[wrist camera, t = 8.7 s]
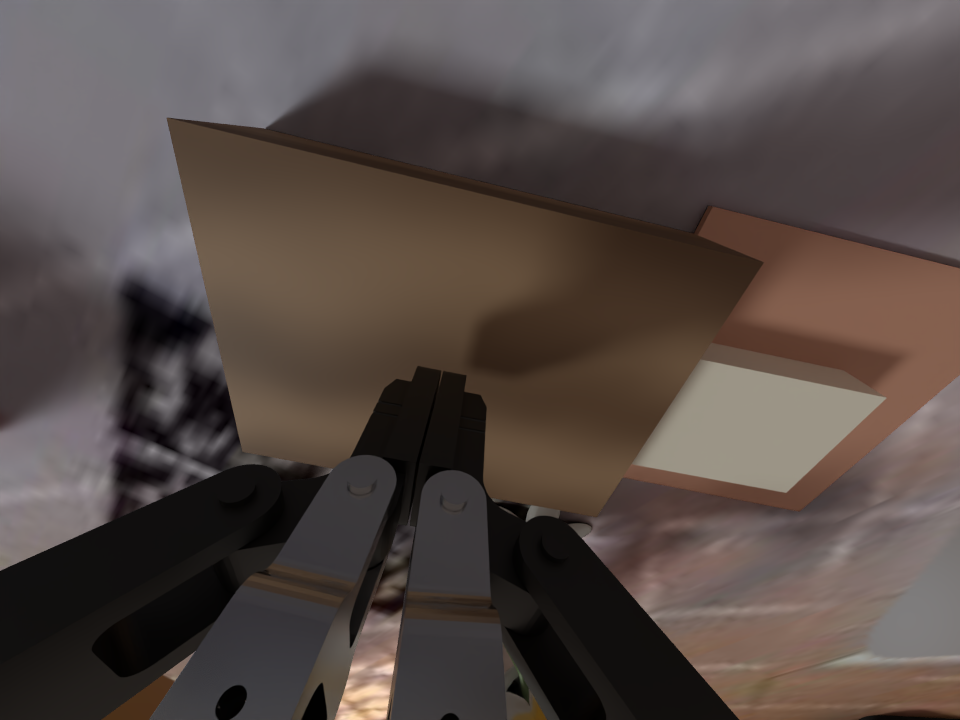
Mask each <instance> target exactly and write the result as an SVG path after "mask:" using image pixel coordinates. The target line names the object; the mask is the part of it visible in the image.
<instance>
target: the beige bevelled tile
mask: <svg viewBox="0 0 960 720" xmlns="http://www.w3.org/2000/svg"><path fill="white" fill-rule="evenodd" d="M885 399H886V397H885V396H883V395H882V394H880V393H879V392H877V391H875V390H874V389H872V388H871V387H869V386H867V385H866V384H864V383H863V382H861V381H859V380H858V379H856V378H855V377H853V376H852V375H850V374H848V373H847V372H845V371H844V370H840V369H835V368H830V367H825V366H820V365H816V364H811V363H806V362H801V361H797V360H792V359H787V358H782V357H777V356H773V355H768V354H763V353H758V352H753V351H749V350H744V349H739V348H734V347H730V346H725V345H720V344H715V343H711V344H710V345H709V347H708V348H707V350H706V351H705V353H704V355H703V356H702V358H701V359H700V361H699V362H698V364H697V365H696V367H695V368H694V370H693V371H692V373H691V374H690V376H689V377H688V379H687V380H686V382H685V383H684V385H683V386H682V388H681V389H680V391H679V393H678V394H677V396H676V397H675V399H674V400H673V402H672V403H671V405H670V406H669V408H668V409H667V411H666V412H665V414H664V415H663V417H662V418H661V420H660V421H659V423H658V424H657V426H656V427H655V429H654V431H653V432H652V434H651V435H650V437H649V438H648V440H647V441H646V443H645V444H644V446H643V447H642V449H641V450H640V452H639V453H638V455H637V456H636V458H635V459H634V461H633V462H632V464H633V465H639V466H644V467H649V468H655V469H660V470H666V471H671V472H676V473H682V474H687V475H692V476H698V477H703V478H709V479H714V480H719V481H725V482H730V483H736V484H741V485H746V486H752V487H757V488H763V489H768V490H773V491H779V492H784V493H787V492H788V491H789V490H790V489H791V488H792V487H793V486H794V485H795V484H796V483H797V482H798V481H799V480H800V479H801V478H802V477H803V476H805V475H806V474H807V473H808V472H809V471H810V470H811V469H812V468H813V467H814V466H815V465H816V464H817V463H818V462H819V461H820V460H822V459H823V458H824V457H825V456H826V455H827V454H828V453H829V452H830V451H831V450H832V449H833V448H834V447H835V446H836V445H837V444H838V443H840V442H841V441H842V440H843V439H844V438H845V437H846V436H847V435H848V434H849V433H850V432H851V431H852V430H853V429H854V428H855V427H856V426H858V425H859V424H860V423H861V422H862V421H863V420H864V419H865V418H866V417H867V416H868V415H869V414H870V413H871V412H872V411H873V410H874V409H876V408H877V407H878V406H879V405H880V404H881V403H882V402H883V401H884V400H885Z"/></svg>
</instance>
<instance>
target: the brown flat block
mask: <svg viewBox="0 0 960 720" xmlns="http://www.w3.org/2000/svg"><path fill="white" fill-rule="evenodd" d="M167 122H168V126H169V130H170V135H171V139H172V144H173V148H174V152H175V157H176V161H177V166H178V170H179V174H180V179H181V183H182V188H183V192H184V196H185V201H186V205H187V210H188V214H189V218H190V223H191V227H192V231H193V236H194V240H195V245H196V249H197V253H198V258H199V262H200V267H201V271H202V275H203V280H204V284H205V289H206V293H207V297H208V302H209V306H210V311H211V315H212V319H213V324H214V328H215V332H216V337H217V341H218V346H219V350H220V354H221V359H222V363H223V368H224V372H225V376H226V381H227V385H228V390H229V394H230V398H231V403H232V407H233V412H234V416H235V420H236V425H237V429H238V433H239V438H240V442H241V447H242V451H243V452H247V453H252V454H258V455H263V456H269V457H274V458H279V459H285V460H290V461H296V462H301V463H306V464H312V465H317V466H323V467H328V468H333V469H334V468H335V467H336V466H337V465H338V464H339V463H341V462H342V461H344V460H346V459H348V458H350V457H351V455H352V453H353V451H354V449H355V447H356V445H357V443H358V441H359V439H360V437H361V435H362V433H363V431H364V429H365V427H366V425H367V422H368V420H369V418H370V416H371V414H373V410H374V408H375V406H376V404H377V403H378V400H379V398H380V396H381V394H382V392H383V390H384V388H385V387H386V386H388V385H389V384H390V383H392V382H393V381H394V380H396V379H401V380H406V381H412V379H413V376H414V373H415V371H416V368H417V366H421V367H427V368H432V369H437V370H441V378H442V374H443V371H447V372H453V373H458V374H463V375H467V377H466V383H465V390H464V392H469V393H474V394H479V395H481V397H482V399H483V401H484V403H485V405H486V407H487V413H486V432H485V452H484V471H483V482H484V486H485V489H486V491H487V493H488V495H489V497H490V498H496V499H501V500H506V501H512V502H517V503H523V504H528V505H533V506H539V507H544V508H550V509H555V510H560V511H566V512H571V513H577V514H582V515H588V516H593V517H597V516H598V514H599V513H600V511H601V510H602V508H603V507H604V505H605V503H606V502H607V500H608V499H609V497H610V496H611V494H612V493H613V491H614V490H615V488H616V487H617V485H618V484H619V482H620V481H621V479H622V478H623V476H624V475H625V473H626V472H627V470H628V469H629V467H630V465H631V464H632V462H633V461H634V459H635V458H636V456H637V455H638V453H639V452H640V450H641V449H642V447H643V446H644V444H645V443H646V441H647V440H648V438H649V437H650V435H651V434H652V432H653V431H654V429H655V427H656V426H657V424H658V423H659V421H660V420H661V418H662V417H663V415H664V414H665V412H666V411H667V409H668V408H669V406H670V405H671V403H672V402H673V400H674V399H675V397H676V396H677V394H678V393H679V391H680V389H681V388H682V386H683V385H684V383H685V382H686V380H687V379H688V377H689V376H690V374H691V373H692V371H693V370H694V368H695V367H696V365H697V364H698V362H699V361H700V359H701V358H702V356H703V355H704V353H705V351H706V350H707V348H708V347H709V345H710V344H711V342H712V341H713V339H714V338H715V336H716V335H717V333H718V332H719V330H720V329H721V327H722V326H723V324H724V323H725V321H726V320H727V318H728V316H729V315H730V313H731V312H732V310H733V309H734V307H735V306H736V304H737V303H738V301H739V300H740V298H741V297H742V295H743V294H744V292H745V291H746V289H747V288H748V286H749V285H750V283H751V282H752V280H753V278H754V277H755V275H756V274H757V272H758V271H759V269H760V268H761V266H762V265H763V263H764V262H762V261H760V260H757V259H755V258H752V257H750V256H747V255H745V254H742V253H740V252H738V251H735V250H733V249H730V248H728V247H725V246H723V245H720V244H718V243H716V242H713V241H711V240H708V239H706V238H703V237H701V236H698V235H696V234H693V233H689V232H685V231H681V230H677V229H673V228H669V227H665V226H661V225H656V224H652V223H648V222H644V221H640V220H636V219H632V218H628V217H624V216H620V215H616V214H612V213H607V212H603V211H599V210H595V209H591V208H587V207H583V206H579V205H575V204H571V203H567V202H562V201H558V200H554V199H550V198H546V197H542V196H538V195H534V194H530V193H526V192H522V191H517V190H513V189H509V188H505V187H501V186H497V185H493V184H489V183H485V182H481V181H477V180H472V179H468V178H464V177H460V176H456V175H452V174H448V173H444V172H440V171H436V170H432V169H427V168H423V167H419V166H415V165H411V164H407V163H403V162H399V161H395V160H391V159H387V158H382V157H378V156H374V155H370V154H366V153H362V152H358V151H354V150H350V149H346V148H342V147H337V146H333V145H329V144H325V143H321V142H317V141H313V140H309V139H305V138H301V137H297V136H293V135H288V134H284V133H280V132H276V131H272V130H268V129H264V128H255V127H246V126H237V125H228V124H219V123H210V122H201V121H192V120H183V119H174V118H167ZM441 378H440V382H441ZM439 385H440V383H439Z"/></svg>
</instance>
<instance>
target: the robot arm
mask: <svg viewBox="0 0 960 720" xmlns="http://www.w3.org/2000/svg"><path fill="white" fill-rule="evenodd" d="M466 377H467V375H463V374H458V373H453V372H447V371H443V374H442V378H441V370H437V369H432V368H427V367H421V366H417V368H416V371H415V373H414V376H413V379H412V381H406V380H401V379H396V380H394V381H393V382H392V383H390V384H389V385H388V386H386V387H385V388H384V390H383V392H382V394H381V396H380V398H379V400H378V403H377V404H376V406H375V408H374V410H373V414H371V416H370V418H369V420H368V422H367V425H366V427H365V429H364V431H363V433H362V435H361V437H360V439H359V441H358V443H357V445H356V447H355V449H354V451H353V453H352V455H351V457H350V458H348V459H346V460H344V461H342V462H341V463H339V464H338V465H337V466H336V467H335V468H334V469H333V470H332V471H331V472H330V473H329V474H326V475H324V476H320V477H316V478H310V479H301V480H292V481H282V482H281V479H280V477H279V475H278V474H277V473H276V472H275V471H274V470H273V469H271V468H269V467H267V466H263V465H256V464H250V465H242V466H237V467H233V468H230V469H228V470H225V471H223V472H221V473H218V474H216V475H214V476H212V477H209V478H207V479H205V480H203V481H200V482H198V483H196V484H194V485H191V486H189V487H187V488H185V489H183V490H180V491H178V492H176V493H174V494H171V495H169V496H167V497H165V498H162V499H160V500H158V501H156V502H153V503H151V504H149V505H147V506H144V507H142V508H140V509H138V510H135V511H133V512H131V513H129V514H126V515H124V516H122V517H120V518H118V519H115V520H113V521H111V522H109V523H106V524H104V525H102V526H100V527H97V528H95V529H93V530H91V531H88V532H86V533H84V534H82V535H79V536H77V537H75V538H73V539H70V540H68V541H66V542H64V543H62V544H59V545H57V546H55V547H53V548H50V549H48V550H46V551H44V552H41V553H39V554H37V555H35V556H32V557H30V558H28V559H26V560H23V561H21V562H19V563H17V564H14V565H12V566H10V567H8V568H5V569H3V570H1V571H0V720H101V719H102V718H104V717H105V716H107V715H108V714H109V713H111V712H112V711H114V710H115V709H116V708H118V707H119V706H120V705H122V704H123V703H125V702H126V701H127V700H129V699H130V698H132V697H133V696H134V695H136V694H137V693H138V692H140V691H141V690H143V689H144V688H145V687H147V686H148V685H149V684H151V683H152V682H153V681H155V680H156V679H158V678H159V677H160V676H162V675H163V674H164V673H166V672H167V671H169V670H170V669H171V668H173V667H174V666H175V665H177V664H178V663H180V662H181V661H182V660H184V659H185V658H186V657H188V656H189V655H191V654H192V653H193V652H195V653H194V654H193V656H192V657H191V659H190V660H189V662H188V663H187V665H186V666H185V668H184V669H183V671H182V672H181V673H180V675H179V676H178V678H177V679H176V681H175V682H174V684H173V685H172V687H171V688H170V690H169V691H168V693H167V694H166V696H165V697H164V699H163V700H162V702H161V703H160V705H159V706H158V707H157V709H156V711H155V712H154V713H153V715H152V716H151V718H150V720H334V719H335V716H336V713H337V710H338V707H339V704H340V702H341V698H342V695H343V692H344V689H345V686H346V682H347V679H348V675H349V671H350V667H351V663H352V659H353V655H354V652H355V649H356V646H357V643H358V640H359V637H360V634H361V632H362V629H363V626H364V623H365V620H366V617H367V615H368V612H369V609H370V606H371V603H372V601H373V598H374V595H375V592H376V589H377V586H378V584H379V581H380V578H381V575H382V572H383V569H384V567H385V564H386V561H387V558H388V554H389V551H390V549H391V546H392V543H393V540H394V536H395V532H396V529H397V525H398V524H401V525H407V523H408V519H409V515H410V511H411V507H412V503H413V507H412V514H411V520H410V526H415V527H416V528H415V534H414V540H413V546H412V551H411V557H410V563H409V570H408V577H407V584H406V590H405V597H404V604H403V611H402V618H401V624H400V631H399V638H398V645H397V652H396V658H395V665H394V671H393V678H392V684H391V690H390V697H389V704H388V710H387V717H386V720H507V709H506V693H505V677H504V661H503V645H502V642H503V644H504V645H505V647H506V649H507V651H508V652H509V654H510V656H511V658H512V659H513V661H514V663H515V665H516V666H517V668H518V670H519V672H520V673H521V675H522V677H523V679H524V681H525V682H526V684H527V686H528V688H529V689H530V691H531V693H532V695H533V696H534V698H535V700H536V702H537V703H538V705H539V707H540V709H541V710H542V712H543V714H544V716H545V717H546V719H547V720H739V719H738V718H737V717H736V716H735V714H734V713H733V712H732V711H731V710H730V709H729V707H728V706H727V705H726V704H725V703H724V702H723V701H722V699H721V698H720V697H719V696H718V695H717V694H716V692H715V691H714V690H713V689H712V688H711V687H710V686H709V684H708V683H707V682H706V681H705V680H704V679H703V677H702V676H701V675H700V674H699V673H698V672H697V671H696V669H695V668H694V667H693V666H692V665H691V664H690V663H689V661H688V660H687V659H686V658H685V657H684V656H683V654H682V653H681V652H680V651H679V650H678V649H677V648H676V646H675V645H674V644H673V643H672V642H671V641H670V639H669V638H668V637H667V636H666V635H665V634H664V633H663V631H662V630H661V629H660V628H659V627H658V626H657V624H656V623H655V622H654V621H653V620H652V619H651V618H650V616H649V615H648V614H647V613H646V612H645V611H644V610H643V608H642V607H641V606H640V605H639V604H638V603H637V601H636V600H635V599H634V598H633V597H632V596H631V595H630V593H629V592H628V591H627V590H626V589H625V588H624V586H623V585H622V584H621V583H620V582H619V581H618V580H617V578H616V577H615V576H614V575H613V574H612V573H611V572H610V570H609V569H608V568H607V567H606V566H605V565H604V563H603V562H602V561H601V560H600V559H599V558H598V557H597V555H596V554H595V553H594V552H593V551H592V550H591V548H590V547H589V546H588V545H587V544H586V543H585V542H584V540H583V539H582V538H581V537H580V536H579V535H578V533H577V532H576V531H575V530H574V529H573V528H572V527H571V526H569V525H568V524H567V523H565V522H564V521H562V520H560V519H558V518H555V517H552V516H537V517H534V518H532V519H530V520H529V521H527V522H526V521H524V520H522V519H520V518H518V517H516V516H514V515H512V514H510V513H508V512H506V511H505V510H503V509H501V508H500V507H499V506H498V505H496V504H495V503H494V502H493V500H492V499H491V498H490V497H489V495H488V493H487V491H486V489H485V486H484V482H483V471H484V452H485V432H486V413H487V407H486V405H485V403H484V401H483V399H482V397H481V395H479V394H474V393H469V392H464V390H465V383H466ZM440 378H441V382H440ZM439 383H440V385H439ZM413 499H414V501H413Z"/></svg>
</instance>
